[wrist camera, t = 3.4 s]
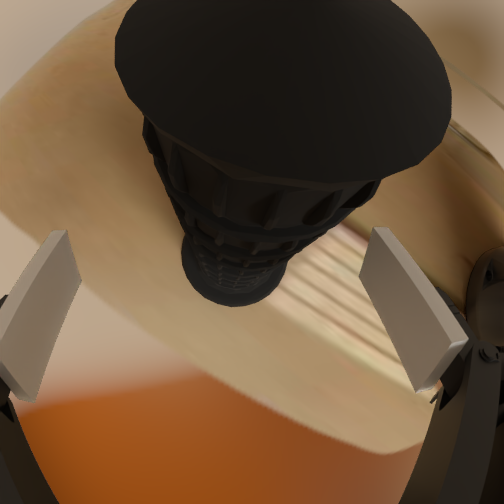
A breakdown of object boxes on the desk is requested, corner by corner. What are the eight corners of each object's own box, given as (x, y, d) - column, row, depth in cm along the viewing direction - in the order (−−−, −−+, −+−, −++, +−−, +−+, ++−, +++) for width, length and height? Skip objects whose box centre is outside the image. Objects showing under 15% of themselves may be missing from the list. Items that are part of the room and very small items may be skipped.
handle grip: (172, 214, 30) (194, 317, 28) (62, -53, 4) (6, 381, 2) (272, 192, 31) (299, 292, 30) (391, -65, 5) (579, 213, 4)
